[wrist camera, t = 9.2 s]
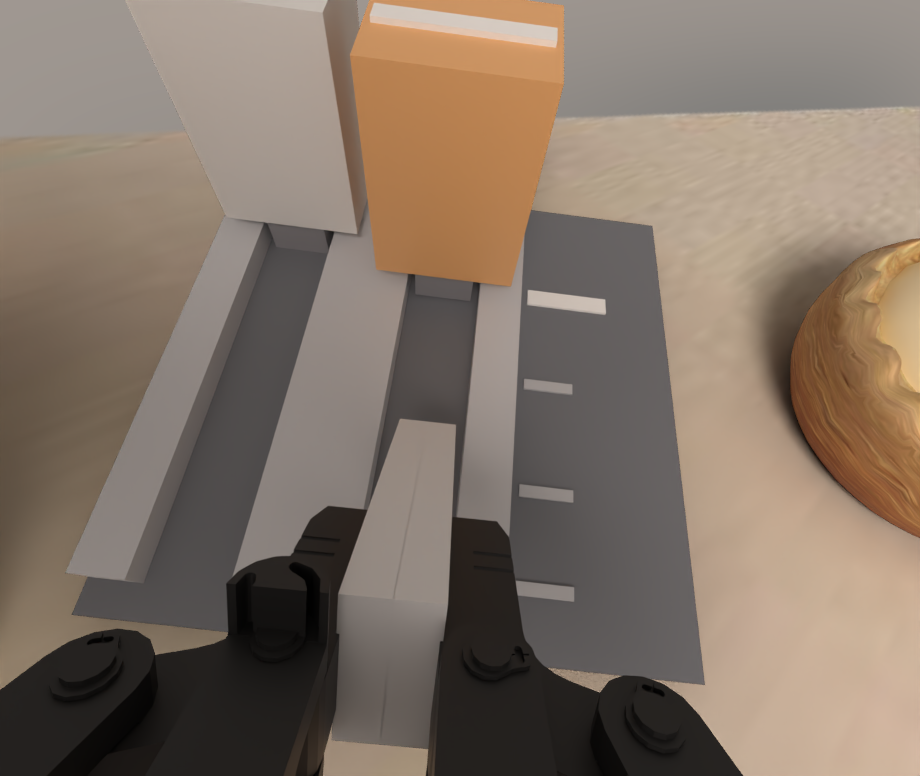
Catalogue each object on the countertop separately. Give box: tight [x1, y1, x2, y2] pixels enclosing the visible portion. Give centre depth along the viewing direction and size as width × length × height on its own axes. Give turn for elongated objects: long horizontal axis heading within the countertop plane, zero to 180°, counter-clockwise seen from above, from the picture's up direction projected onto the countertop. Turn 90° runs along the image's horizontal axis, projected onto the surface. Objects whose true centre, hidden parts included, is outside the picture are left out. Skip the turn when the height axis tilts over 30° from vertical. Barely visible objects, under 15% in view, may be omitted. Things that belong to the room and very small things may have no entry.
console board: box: [65, 0, 705, 685], centre depth 14 cm, size 18×18×10 cm
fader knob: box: [350, 0, 564, 301], centre depth 16 cm, size 5×4×9 cm
